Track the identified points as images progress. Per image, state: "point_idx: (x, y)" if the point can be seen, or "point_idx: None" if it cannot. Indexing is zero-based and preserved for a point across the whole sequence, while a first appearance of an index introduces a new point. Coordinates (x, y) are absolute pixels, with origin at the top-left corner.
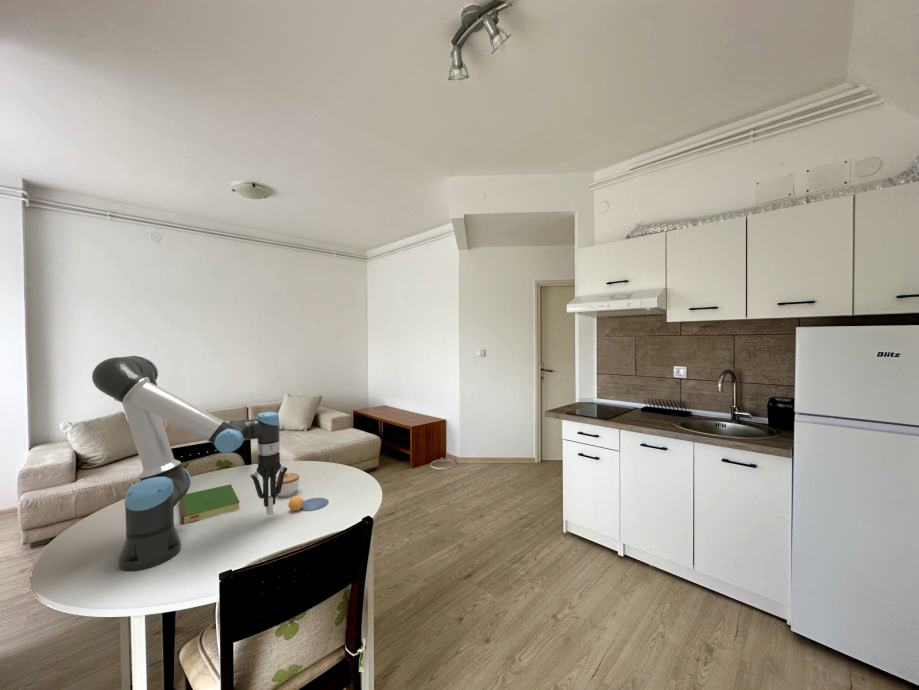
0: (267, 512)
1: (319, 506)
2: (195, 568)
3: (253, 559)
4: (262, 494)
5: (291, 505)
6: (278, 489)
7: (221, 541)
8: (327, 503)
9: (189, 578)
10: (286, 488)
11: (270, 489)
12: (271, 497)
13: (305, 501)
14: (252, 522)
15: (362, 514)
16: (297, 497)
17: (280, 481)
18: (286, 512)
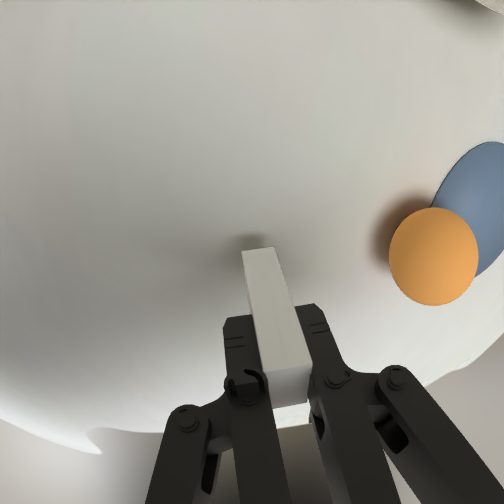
0: (245, 281)
1: None
2: (37, 404)
3: None
4: (214, 468)
5: (400, 288)
6: (382, 438)
7: (39, 336)
8: (497, 255)
9: (45, 419)
10: (499, 1)
11: (331, 439)
12: (298, 398)
13: (485, 159)
14: (144, 237)
15: (462, 363)
16: (459, 295)
17: (426, 497)
18: (366, 223)
